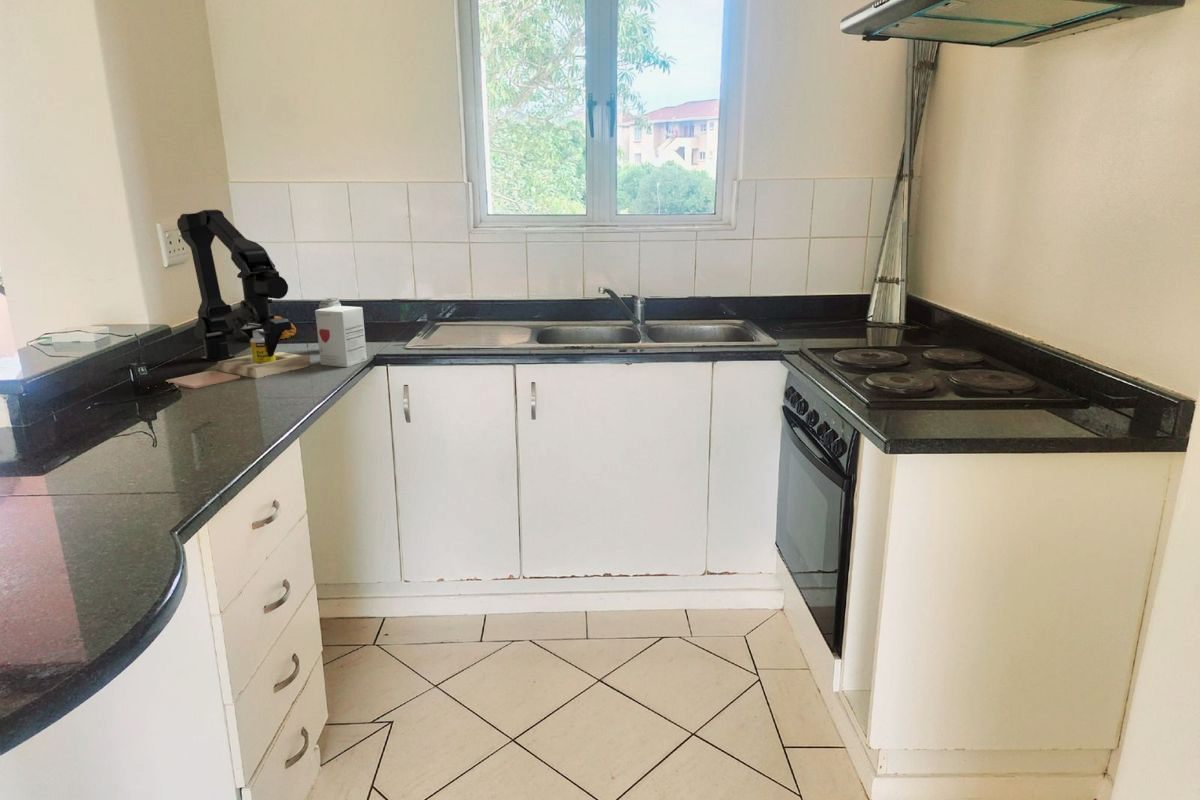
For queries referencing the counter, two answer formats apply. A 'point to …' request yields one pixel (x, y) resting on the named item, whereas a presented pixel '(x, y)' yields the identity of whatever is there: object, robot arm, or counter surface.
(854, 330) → the counter surface
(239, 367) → the board
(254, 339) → the supplement bottle
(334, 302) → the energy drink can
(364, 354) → the supplement box
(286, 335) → the croissant
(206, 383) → the terracotta tile
